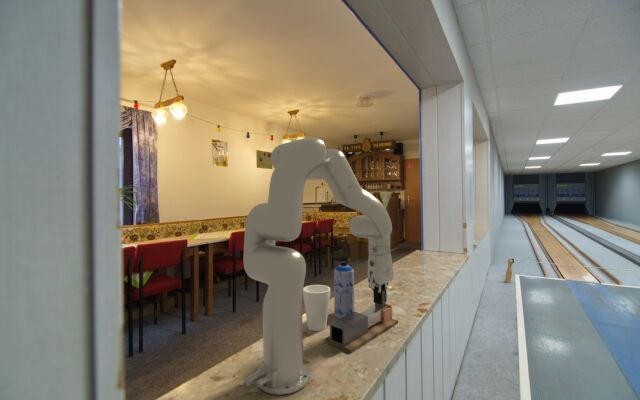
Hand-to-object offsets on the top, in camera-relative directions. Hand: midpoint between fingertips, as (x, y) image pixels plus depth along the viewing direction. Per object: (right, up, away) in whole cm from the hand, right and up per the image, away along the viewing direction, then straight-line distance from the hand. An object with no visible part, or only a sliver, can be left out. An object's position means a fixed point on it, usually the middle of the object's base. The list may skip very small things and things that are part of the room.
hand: (380, 301), depth 101 cm
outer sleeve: (-12, -6, -13) cm, 19 cm away
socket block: (+1, -6, +1) cm, 6 cm away
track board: (-7, -7, -8) cm, 13 cm away
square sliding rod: (-4, -5, -4) cm, 8 cm away
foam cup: (-22, -8, -3) cm, 24 cm away
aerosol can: (-12, -8, +7) cm, 16 cm away
